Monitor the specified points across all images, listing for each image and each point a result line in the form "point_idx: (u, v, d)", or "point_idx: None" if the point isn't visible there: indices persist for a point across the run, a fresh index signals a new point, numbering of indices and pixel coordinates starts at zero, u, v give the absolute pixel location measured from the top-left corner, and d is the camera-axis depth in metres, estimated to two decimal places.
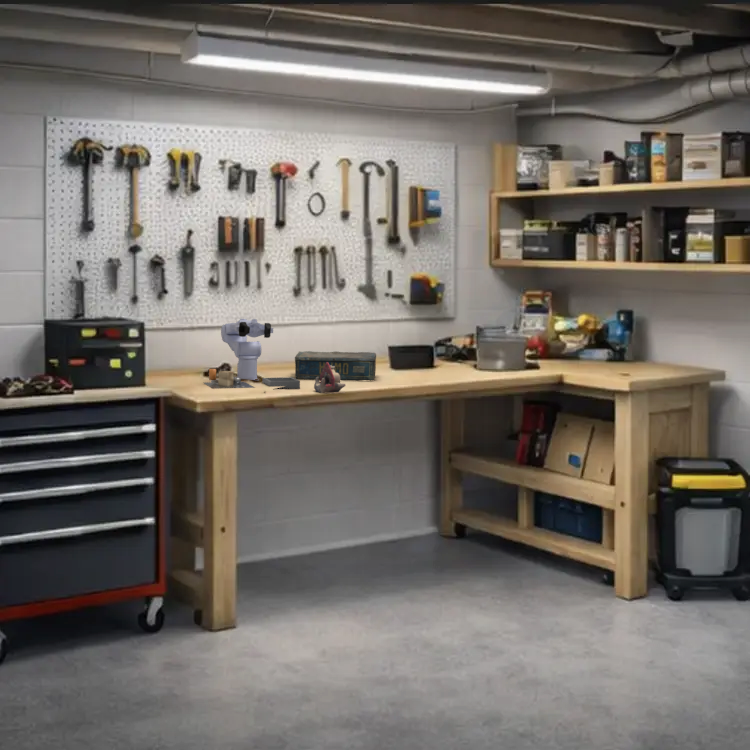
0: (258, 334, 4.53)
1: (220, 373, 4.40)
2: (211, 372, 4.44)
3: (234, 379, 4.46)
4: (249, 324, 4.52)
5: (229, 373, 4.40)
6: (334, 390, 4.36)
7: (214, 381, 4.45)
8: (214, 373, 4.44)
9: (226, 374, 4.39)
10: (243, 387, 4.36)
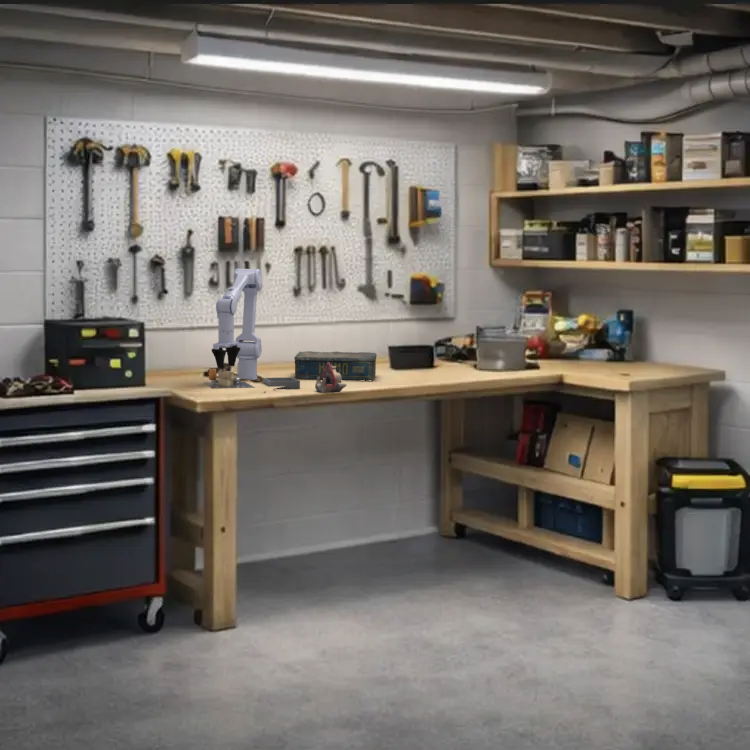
0: None
1: (220, 373, 4.40)
2: (211, 372, 4.44)
3: (234, 379, 4.46)
4: None
5: (229, 373, 4.40)
6: (335, 390, 4.36)
7: (214, 381, 4.45)
8: (214, 373, 4.44)
9: (226, 374, 4.39)
10: (243, 387, 4.36)
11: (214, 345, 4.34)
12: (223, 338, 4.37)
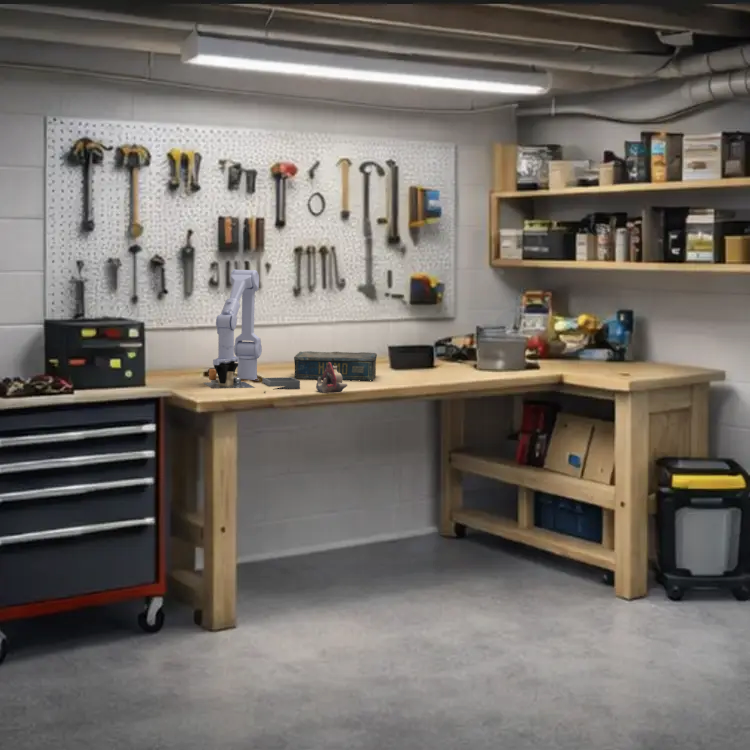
0: None
1: None
2: (211, 372, 4.44)
3: (234, 379, 4.46)
4: None
5: (229, 373, 4.40)
6: (336, 390, 4.36)
7: (214, 381, 4.45)
8: (214, 373, 4.44)
9: None
10: (243, 387, 4.36)
11: (214, 361, 4.35)
12: (223, 354, 4.38)
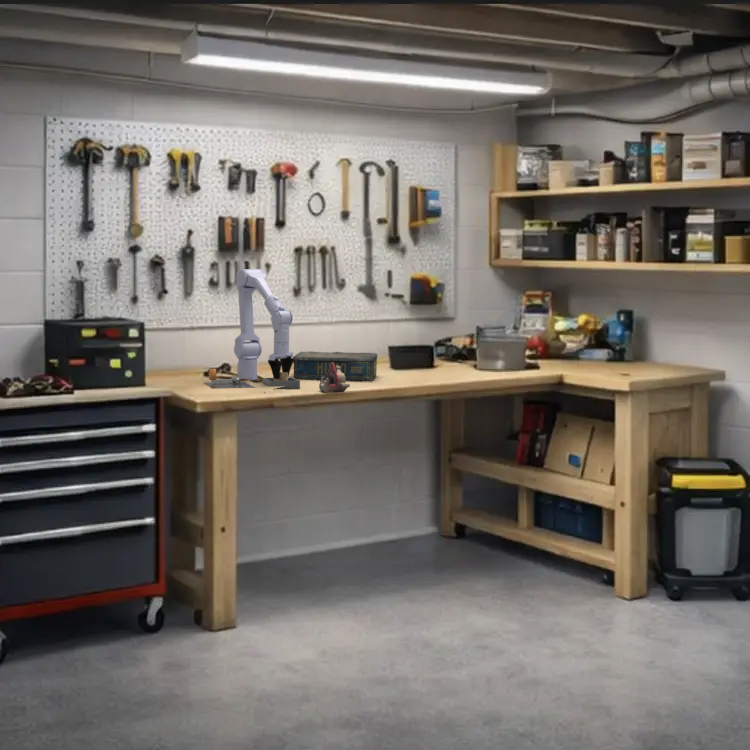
0: None
1: None
2: (211, 372, 4.44)
3: (234, 379, 4.46)
4: None
5: (284, 374, 4.46)
6: (338, 390, 4.36)
7: (214, 381, 4.45)
8: (214, 373, 4.44)
9: (281, 375, 4.45)
10: (243, 387, 4.36)
11: (270, 356, 4.40)
12: (279, 349, 4.44)
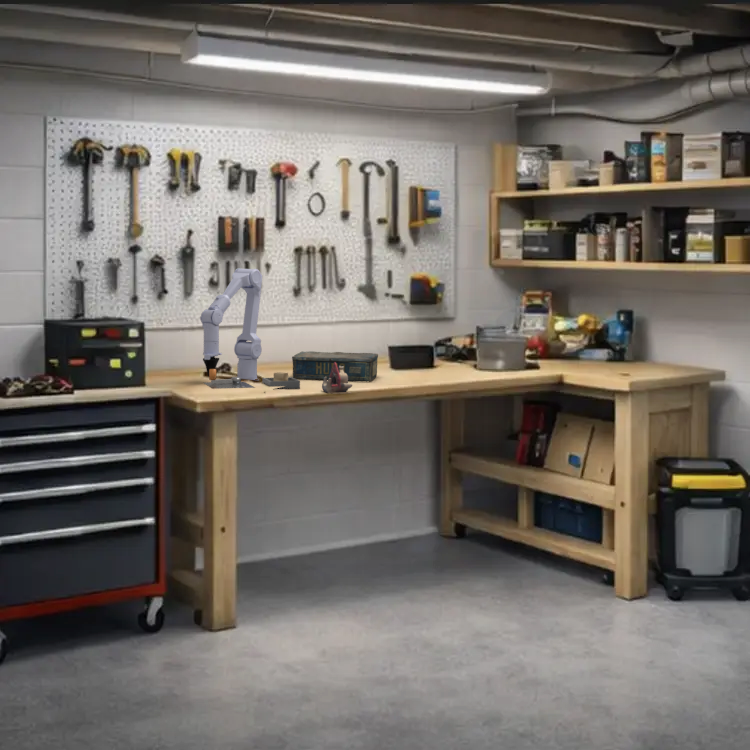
0: None
1: (275, 374, 4.46)
2: (211, 372, 4.44)
3: (234, 379, 4.46)
4: None
5: (284, 374, 4.46)
6: (341, 390, 4.36)
7: (214, 381, 4.44)
8: (214, 373, 4.44)
9: (281, 375, 4.45)
10: (243, 387, 4.36)
11: (205, 356, 4.39)
12: (211, 348, 4.44)
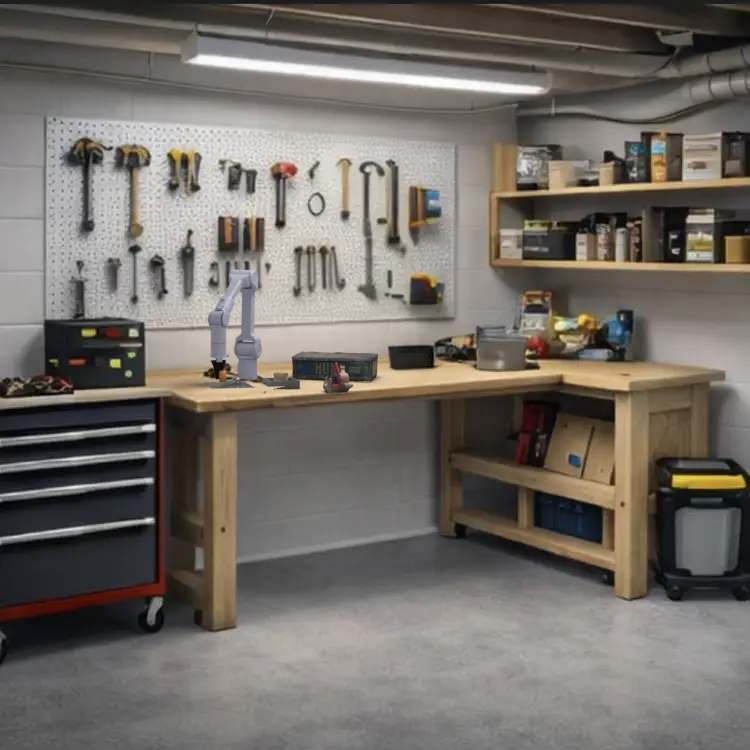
0: None
1: (275, 374, 4.46)
2: (224, 374, 4.39)
3: (238, 379, 4.47)
4: None
5: (284, 374, 4.46)
6: (342, 390, 4.35)
7: (225, 383, 4.40)
8: None
9: (281, 375, 4.45)
10: (243, 387, 4.36)
11: (218, 358, 4.33)
12: (220, 351, 4.38)
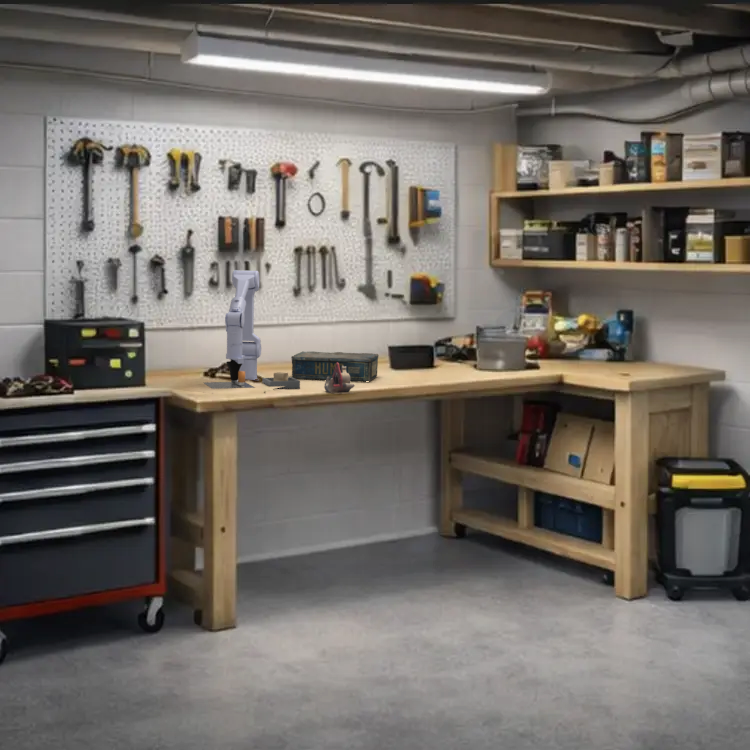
0: None
1: (275, 374, 4.46)
2: (244, 374, 4.39)
3: None
4: None
5: (284, 374, 4.46)
6: (343, 390, 4.35)
7: None
8: None
9: (281, 375, 4.45)
10: (243, 387, 4.36)
11: (240, 360, 4.32)
12: (238, 352, 4.36)
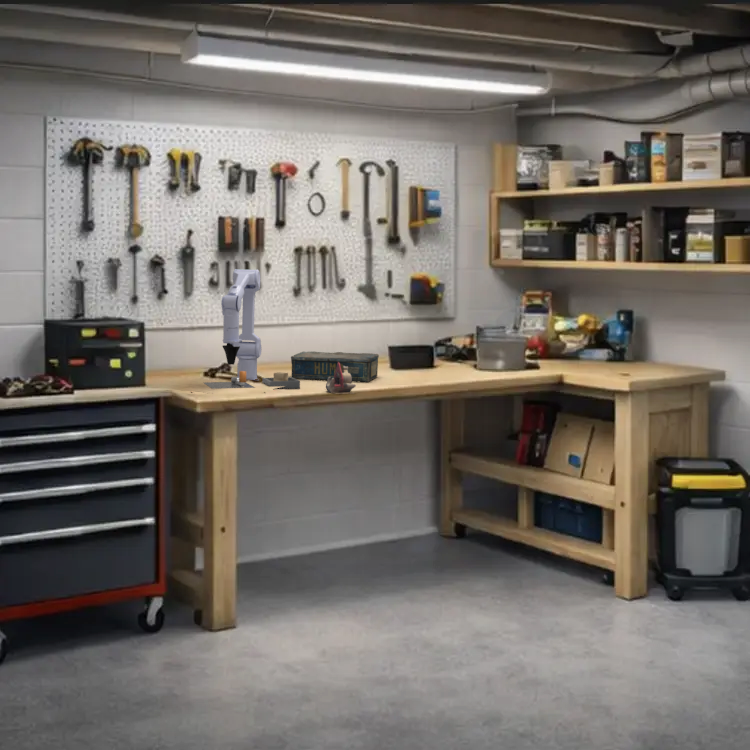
0: None
1: (275, 374, 4.46)
2: None
3: None
4: None
5: (284, 374, 4.46)
6: (344, 390, 4.35)
7: None
8: None
9: (281, 375, 4.45)
10: (243, 387, 4.36)
11: (235, 342, 4.30)
12: (234, 335, 4.34)
